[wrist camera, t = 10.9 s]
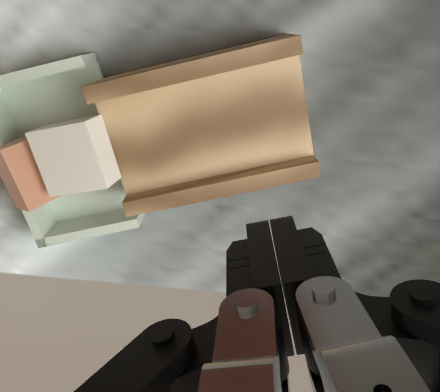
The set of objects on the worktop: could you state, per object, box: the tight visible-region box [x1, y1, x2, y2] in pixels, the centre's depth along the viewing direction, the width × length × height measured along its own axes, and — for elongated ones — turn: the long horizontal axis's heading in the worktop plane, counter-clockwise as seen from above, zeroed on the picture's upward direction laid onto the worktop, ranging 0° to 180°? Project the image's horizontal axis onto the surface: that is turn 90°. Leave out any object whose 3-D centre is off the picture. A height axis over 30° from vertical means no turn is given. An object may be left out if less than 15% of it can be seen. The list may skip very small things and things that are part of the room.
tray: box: [0, 53, 145, 248], centre depth 34 cm, size 14×9×4 cm, turn 13°
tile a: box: [25, 114, 121, 197], centre depth 30 cm, size 5×5×2 cm
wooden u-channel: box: [82, 34, 320, 217], centre depth 31 cm, size 10×15×6 cm, turn 103°
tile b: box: [0, 136, 61, 212], centre depth 32 cm, size 5×5×2 cm
